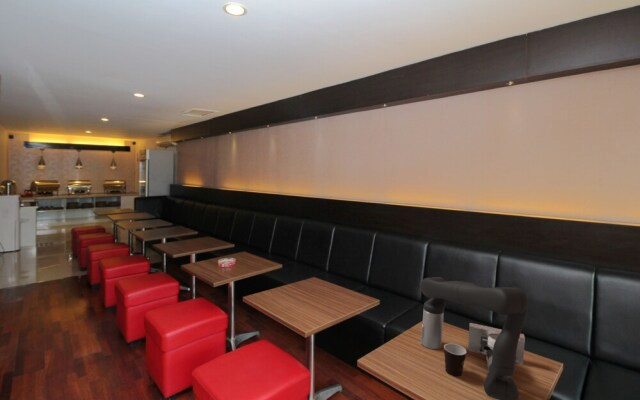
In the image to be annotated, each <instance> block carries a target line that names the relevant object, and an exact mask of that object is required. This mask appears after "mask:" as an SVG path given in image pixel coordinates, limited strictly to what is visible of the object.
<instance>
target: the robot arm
mask: <svg viewBox="0 0 640 400" xmlns="http://www.w3.org/2000/svg"><path fill="white" fill-rule="evenodd" d="M419 287H420V288H419V289H420V291H421V293H422V294H423V295H424V296H425V297H427V298H429V299H428V300H426V301H424V304H423V309H422V311H423V313H422V324H421V336H420V337H421V338H420V345H421V346H424V347H426V348H427V349H430V350H431V349H432V350H440V349H441V348H442V345H443V330H444V311H445V308H446V304H447V301H448V302H452V303H456V304H459V305H464V306H469V307H478V308H482V309H485V310H487V311H488V310H489V311H490V312H493V313H496V314H498V315H504V316H506V318H505V322H504V325H503V327H502V329H501V330H502V331H501V332H500V334H499V336H498V337H497V339H496V341H495V344H494V347H491V346H490V345H488V342H486V345H485V344H482V345H481V347H480V351H479V353H478V354H479V356H486V358H487V357H488V362H487V369H488V373H487V375H486V376H485V380H484V382H483V390H484V393H485V395H487V397H489V398H492V399H495V400H519V399H520V392H519V388H518V385H517V384H516V382H515V380H514V379H513V378H512V376H513V375H515V371H516V365H517V363H516V361H517V357H516V351H517V345H518V341H519V337H520V334H522V329H523V327H524V323H525V320H526V316H527V313H528V309H529V299H528V296H527V294H526V293H525V291H524V290H522V289H521V288H519V287H509V286H507V287H505V286H504V287H502V286H498V287H497V286H496V287H481V286H478V285H477V284H474V283H472V282H468V281H460V280H450V281H446V280H445V279H444V277H441V276H436V277H435V276H433V277H425V278H423V279H422V280H421V281H420V285H419ZM485 350H487V352H486V351H485ZM483 354H485V355H483Z"/></svg>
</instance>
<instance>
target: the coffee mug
mask: <svg viewBox="0 0 640 400" xmlns="http://www.w3.org/2000/svg"><path fill="white" fill-rule="evenodd" d="M443 349H444V365H445V372H446V374H448V375H449V376H452V377H455V378H457V377H458V378H459V377H461V376H462V375H463V369H464V366H465V362H466V356H467V350H466V348H465V347H464V346H461V345H460V344H456V343H446V344H444V345H443Z"/></svg>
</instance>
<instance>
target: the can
mask: <svg viewBox="0 0 640 400" xmlns="http://www.w3.org/2000/svg"><path fill="white" fill-rule="evenodd" d="M498 336H499V335H498V334H489V337H488V345H490V346H491V347H494V344H495V341H496V339H497V337H498ZM486 362H487V363H488V357H487V356H486Z"/></svg>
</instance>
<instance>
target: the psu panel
mask: <svg viewBox="0 0 640 400" xmlns="http://www.w3.org/2000/svg"><path fill="white" fill-rule="evenodd" d="M468 326H469V327H468V328H469V329H468V342H467V343H468V344H467V351H468V352H472V353H476V354H479V351H480V347H481V345H482V344H485V345H486V342H488V337H489V334H498V335H499V334H500V332H501V331H502V329H500V328H495V327H491V326H487V325H482V324H477V323H473V322H469V325H468ZM525 340H526V338H525V334H524V333H521V334H520V337H519V341H518V345H517V351H516V357H517V361H516V364H519V365H524V356H525V355H524V353H525V343H526V341H525ZM485 351H486V352H487V350H485ZM482 356H486V355H485V354H483V355H482Z"/></svg>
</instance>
